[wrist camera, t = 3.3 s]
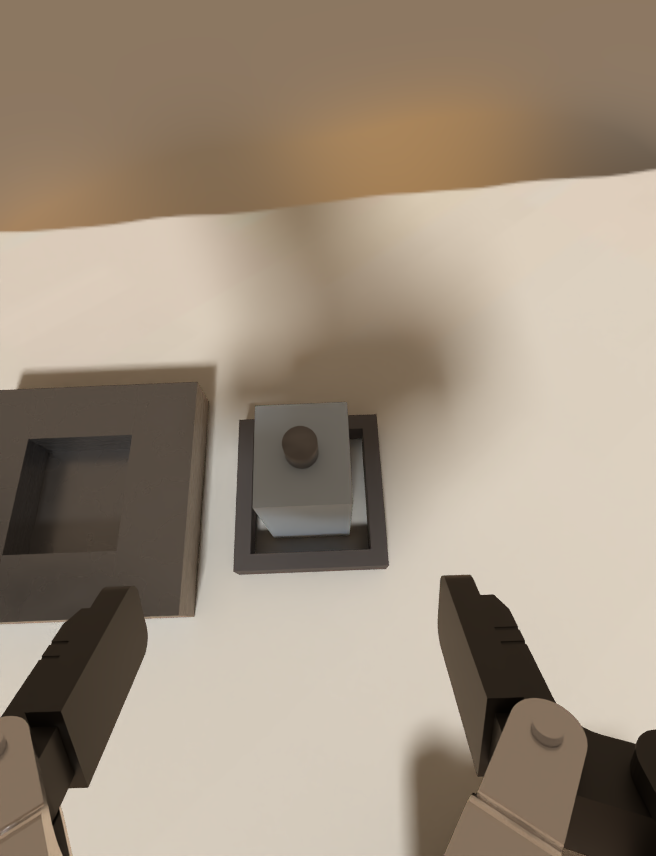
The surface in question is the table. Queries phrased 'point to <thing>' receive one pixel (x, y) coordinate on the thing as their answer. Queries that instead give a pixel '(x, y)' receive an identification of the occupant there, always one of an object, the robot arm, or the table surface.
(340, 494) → the plug
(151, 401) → the block
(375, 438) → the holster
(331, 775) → the table surface
